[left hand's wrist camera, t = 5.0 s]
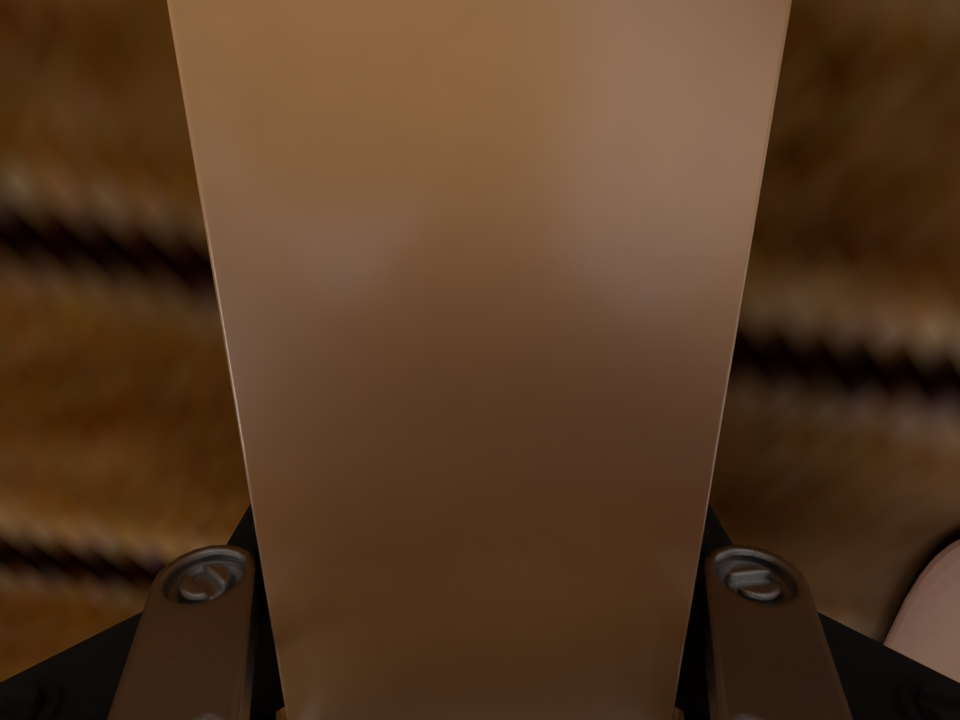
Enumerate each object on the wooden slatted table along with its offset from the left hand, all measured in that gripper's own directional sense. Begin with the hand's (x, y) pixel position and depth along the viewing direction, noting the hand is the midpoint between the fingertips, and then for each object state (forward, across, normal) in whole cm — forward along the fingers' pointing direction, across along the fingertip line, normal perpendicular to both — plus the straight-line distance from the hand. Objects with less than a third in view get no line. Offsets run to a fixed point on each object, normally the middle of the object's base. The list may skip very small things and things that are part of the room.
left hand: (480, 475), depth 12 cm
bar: (+2, 0, -29) cm, 29 cm away
